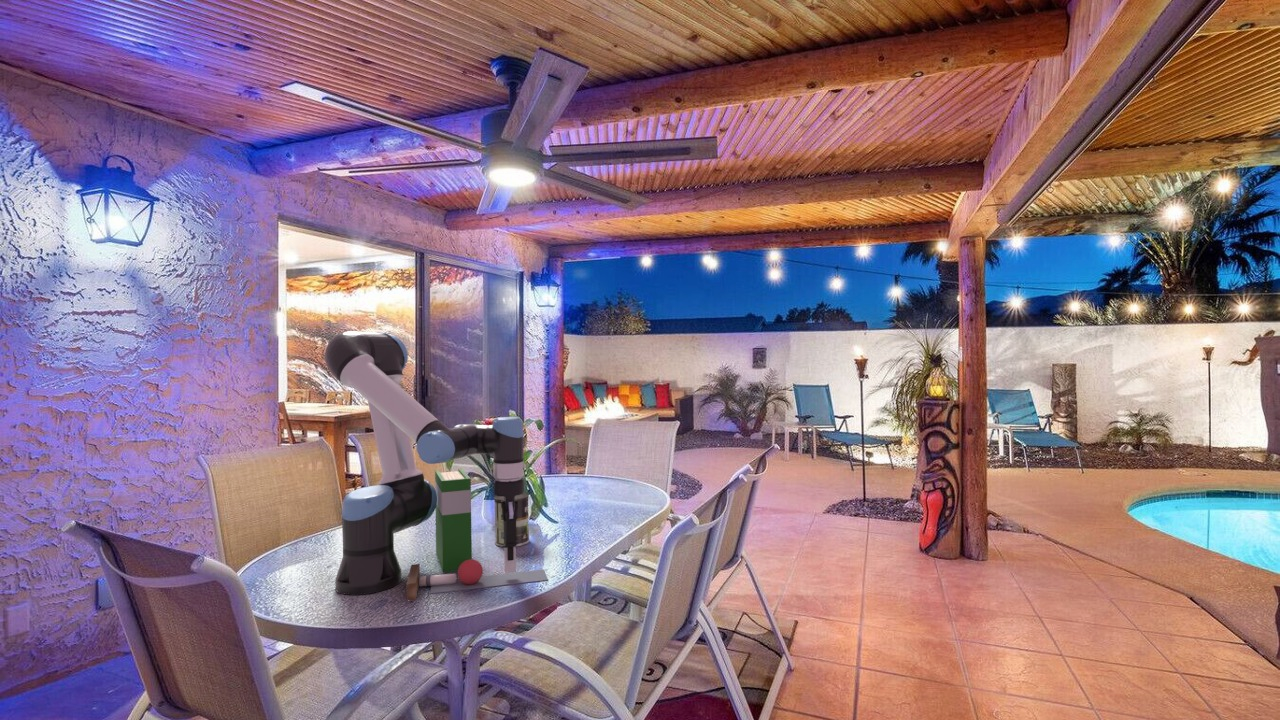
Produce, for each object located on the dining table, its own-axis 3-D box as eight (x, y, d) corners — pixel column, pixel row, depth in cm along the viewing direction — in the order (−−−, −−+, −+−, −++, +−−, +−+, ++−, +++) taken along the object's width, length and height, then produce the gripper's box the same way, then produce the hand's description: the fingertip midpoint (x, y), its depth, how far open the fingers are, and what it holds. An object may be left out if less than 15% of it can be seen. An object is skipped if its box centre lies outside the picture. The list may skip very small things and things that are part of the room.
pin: (455, 577, 150) (419, 580, 148) (455, 585, 151) (419, 589, 149) (456, 570, 153) (420, 574, 151) (456, 579, 154) (420, 582, 152)
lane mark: (430, 594, 145) (430, 593, 145) (431, 582, 153) (431, 581, 153) (548, 580, 153) (548, 579, 153) (543, 570, 161) (543, 569, 161)
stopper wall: (406, 601, 141) (406, 584, 141) (411, 580, 154) (411, 564, 154) (416, 600, 141) (415, 583, 141) (419, 579, 155) (419, 563, 155)
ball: (472, 558, 149) (488, 575, 150) (471, 551, 154) (487, 568, 156) (452, 575, 147) (469, 593, 148) (452, 568, 153) (468, 585, 154)
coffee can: (528, 536, 192) (527, 491, 192) (530, 545, 182) (529, 498, 182) (494, 539, 190) (493, 493, 190) (494, 548, 180) (494, 501, 180)
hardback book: (436, 553, 176) (435, 470, 176) (462, 549, 179) (461, 468, 179) (443, 572, 160) (441, 481, 160) (471, 568, 163) (470, 478, 163)
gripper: (526, 482, 149) (528, 578, 149) (521, 473, 162) (522, 562, 162) (495, 484, 147) (496, 582, 147) (492, 474, 160) (493, 565, 160)
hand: (510, 571), depth 154 cm, fingers closed
